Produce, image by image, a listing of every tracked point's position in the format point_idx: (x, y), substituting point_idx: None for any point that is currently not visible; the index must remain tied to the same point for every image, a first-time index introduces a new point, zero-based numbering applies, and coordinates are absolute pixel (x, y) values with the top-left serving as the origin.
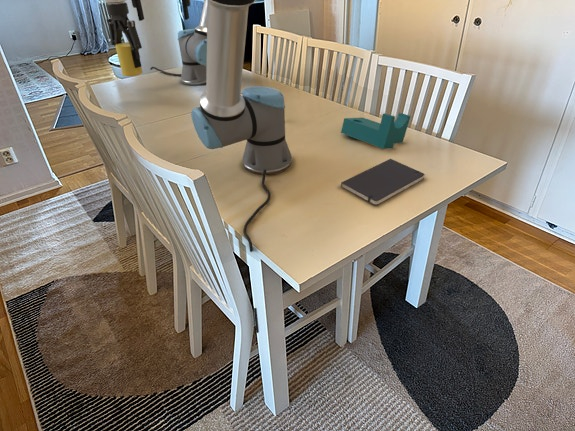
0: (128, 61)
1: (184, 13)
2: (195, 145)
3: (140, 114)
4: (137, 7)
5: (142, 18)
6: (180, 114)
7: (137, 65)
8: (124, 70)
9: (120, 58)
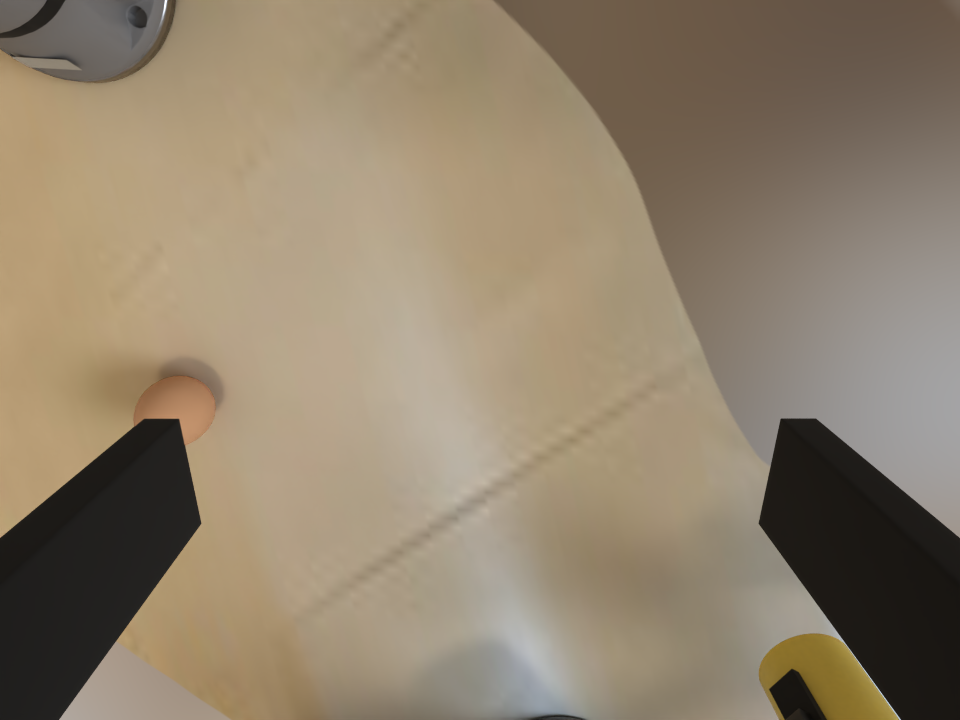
0: (841, 695)
1: (123, 459)
2: (426, 159)
3: (720, 465)
4: (913, 522)
5: (779, 474)
6: (556, 460)
7: (789, 683)
8: (847, 658)
9: (889, 713)
